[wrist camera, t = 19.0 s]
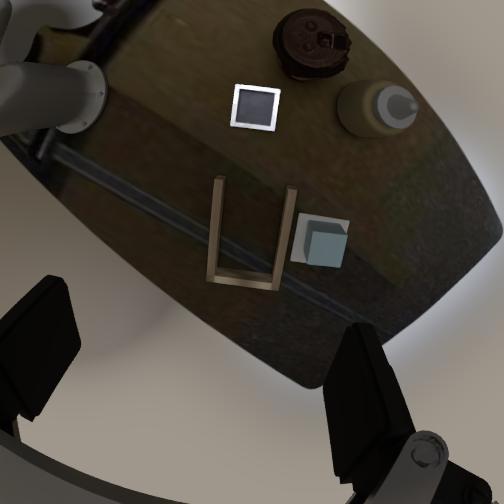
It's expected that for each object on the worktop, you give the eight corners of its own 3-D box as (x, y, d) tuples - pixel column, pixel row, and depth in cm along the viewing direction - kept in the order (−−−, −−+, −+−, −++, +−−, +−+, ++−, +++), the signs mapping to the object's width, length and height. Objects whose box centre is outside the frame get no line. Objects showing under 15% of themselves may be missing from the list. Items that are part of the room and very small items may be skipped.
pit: (231, 125, 40) (230, 125, 38) (237, 85, 37) (235, 84, 35) (274, 131, 40) (274, 131, 38) (279, 90, 37) (280, 89, 35)
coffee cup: (343, 66, 35) (373, 46, 23) (303, 101, 38) (319, 92, 26) (299, 25, 33) (312, -9, 21) (258, 60, 35) (255, 35, 24)
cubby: (209, 272, 50) (206, 281, 47) (217, 175, 43) (214, 178, 40) (277, 281, 50) (278, 290, 47) (295, 185, 43) (297, 190, 40)
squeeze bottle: (326, 129, 39) (366, 135, 23) (335, 77, 36) (380, 51, 19) (377, 142, 39) (439, 160, 23) (386, 93, 36) (453, 83, 20)
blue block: (303, 249, 47) (306, 264, 42) (308, 219, 45) (313, 231, 40) (333, 252, 47) (340, 267, 42) (339, 223, 45) (347, 235, 40)
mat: (290, 259, 48) (290, 260, 48) (299, 212, 45) (299, 213, 44) (337, 266, 48) (337, 267, 48) (349, 220, 45) (349, 221, 44)
